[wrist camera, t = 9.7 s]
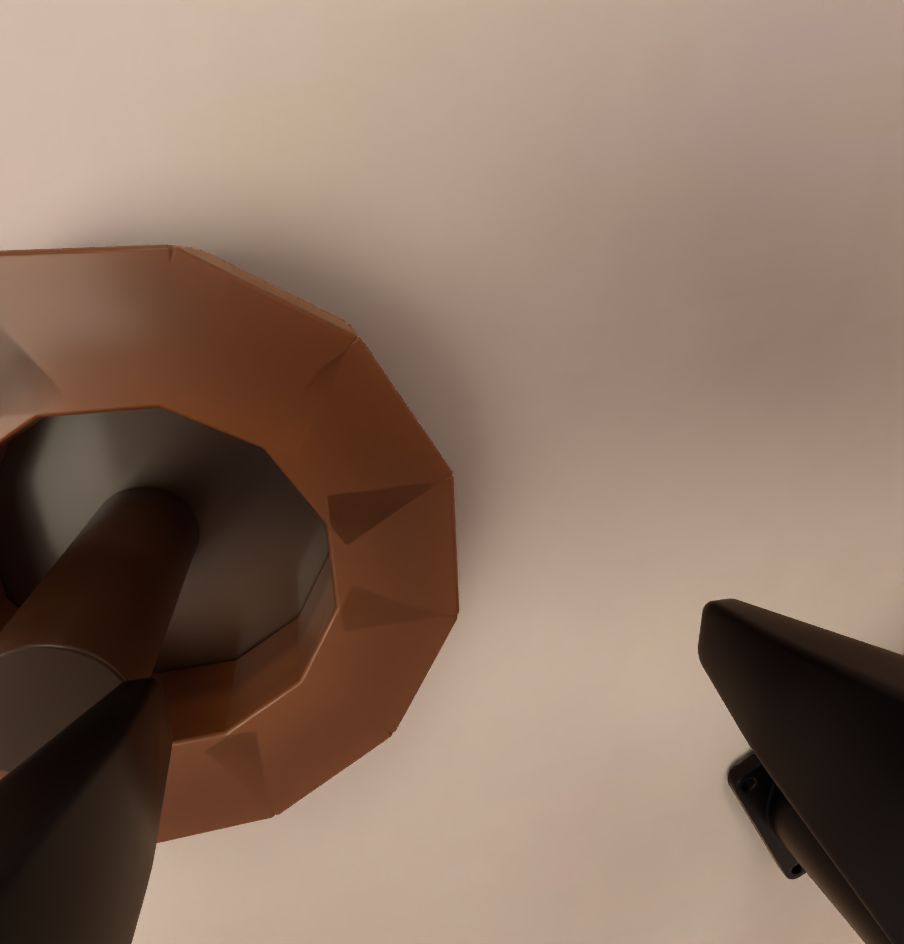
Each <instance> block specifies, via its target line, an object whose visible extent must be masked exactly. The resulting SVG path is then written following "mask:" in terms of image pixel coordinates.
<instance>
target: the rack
mask: <svg viewBox="0 0 904 944" xmlns="http://www.w3.org/2000/svg"><path fill="white" fill-rule="evenodd" d="M328 556H329V551H328V543H327V534H326V526H325V522H324V521H323V520H322V519H321V517H320V516H319V515H318V514H317V513H316V511H315V510H314V509H313V508H312V507H311V505H310V504H309V503H308V502H307V501H306V499H305V498H304V497H303V496H302V495H301V493H300V492H299V491H298V490H297V489H296V487H295V486H294V485H293V484H292V483H291V481H290V480H289V479H288V478H287V477H286V475H285V474H284V473H283V472H282V471H281V469H280V468H279V467H278V466H277V465H276V463H275V462H274V461H273V460H272V459H271V457H270V456H269V455H268V454H267V453H266V451H265V450H264V449H263V448H261V447H258V446H256V445H253V444H251V443H248V442H246V441H243V440H241V439H238V438H236V437H233V436H231V435H228V434H226V433H223V432H221V431H218V430H216V429H213V428H210V427H208V426H205V425H203V424H200V423H198V422H195V421H193V420H190V419H188V418H185V417H183V416H180V415H178V414H175V413H173V412H170V411H168V410H165V409H163V408H160V407H156V408H145V409H133V410H122V411H110V412H99V413H87V414H76V415H64V416H53V417H45V418H43V419H42V420H40V421H39V422H37V423H36V424H35V425H33V426H32V427H30V428H29V429H27V430H26V431H24V432H23V433H21V434H20V435H19V436H17V437H16V438H14V439H13V440H11V441H10V442H9V444H8V447H7V450H6V453H5V455H4V458H3V461H2V464H1V467H0V577H1V580H2V584H3V587H4V590H5V593H6V596H7V598H8V599H9V600H10V601H11V602H12V603H14V604H15V605H16V606H17V607H18V608H19V609H18V610H17V612H16V613H15V614H14V615H13V617H12V618H11V619H10V620H9V622H8V623H7V624H6V625H5V627H4V628H3V629H2V630H1V632H0V770H1V771H4V772H7V773H9V772H10V771H12V770H13V769H14V768H15V767H17V766H18V765H19V764H21V763H22V762H23V761H24V760H26V759H27V758H28V757H29V756H31V755H32V754H33V753H34V752H36V751H37V750H38V749H39V748H41V747H42V746H43V745H44V744H46V743H47V742H48V741H49V740H51V739H52V738H53V737H54V736H56V735H57V734H58V733H59V732H61V731H62V730H63V729H64V728H66V727H67V726H68V725H69V724H71V723H72V722H73V721H75V720H76V719H77V718H78V717H80V716H81V715H82V714H83V713H85V712H86V711H87V710H88V709H90V708H91V707H92V706H93V705H95V704H96V703H97V702H98V701H100V700H101V699H102V698H103V697H105V696H106V695H107V694H108V693H110V692H111V691H112V690H113V689H115V688H116V687H117V686H118V685H120V684H121V683H123V682H124V681H127V680H134V679H141V678H149V677H151V674H152V672H155V673H162V672H168V671H174V670H180V669H186V668H191V667H197V666H203V665H209V664H215V663H221V662H227V661H233V660H237V659H239V658H240V657H242V656H243V655H245V654H246V653H247V652H249V651H250V650H252V649H253V648H255V647H256V646H258V645H259V644H260V643H262V642H263V641H265V640H266V639H268V638H269V637H271V636H272V635H273V634H275V633H276V632H278V631H279V630H281V629H282V628H284V627H285V626H286V625H288V624H289V623H291V622H292V621H294V620H295V619H296V618H298V617H299V615H300V613H301V611H302V609H303V607H304V605H305V603H306V601H307V599H308V597H309V595H310V593H311V591H312V589H313V587H314V585H315V582H316V580H317V578H318V576H319V574H320V572H321V570H322V568H323V566H324V564H325V562H326V560H327V558H328Z"/></svg>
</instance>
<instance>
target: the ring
mask: <svg viewBox="0 0 904 944" xmlns="http://www.w3.org/2000/svg"><path fill="white" fill-rule="evenodd" d="M156 407H160V408H163V409H165V410H168V411H170V412H173V413H175V414H178V415H180V416H183V417H185V418H188V419H190V420H193V421H195V422H198V423H200V424H203V425H205V426H208V427H210V428H213V429H216V430H218V431H221V432H223V433H226V434H228V435H231V436H233V437H236V438H238V439H241V440H243V441H246V442H248V443H251V444H253V445H256V446H258V447H261V448H263V449H264V450H265V451H266V453H267V454H268V455H269V456H270V457H271V459H272V460H273V461H274V462H275V463H276V465H277V466H278V467H279V468H280V469H281V471H282V472H283V473H284V474H285V475H286V477H287V478H288V479H289V480H290V481H291V483H292V484H293V485H294V486H295V487H296V489H297V490H298V491H299V492H300V493H301V495H302V496H303V497H304V498H305V499H306V501H307V502H308V503H309V504H310V505H311V507H312V508H313V509H314V510H315V511H316V513H317V514H318V515H319V516H320V517H321V519H322V520H323V521H324V522H325V526H326V534H327V543H328V551H329V556H328V558H327V560H326V562H325V564H324V566H323V568H322V570H321V572H320V574H319V576H318V578H317V580H316V582H315V585H314V587H313V589H312V591H311V593H310V595H309V597H308V599H307V601H306V603H305V605H304V607H303V609H302V611H301V613H300V615H299V617H298V618H296V619H295V620H294V621H292V622H291V623H289V624H288V625H286V626H285V627H284V628H282V629H281V630H279V631H278V632H276V633H275V634H273V635H272V636H271V637H269V638H268V639H266V640H265V641H263V642H262V643H260V644H259V645H258V646H256V647H255V648H253V649H252V650H250V651H249V652H247V653H246V654H245V655H243V656H242V657H240V658H239V659H237V660H233V661H227V662H221V663H215V664H209V665H203V666H197V667H191V668H186V669H180V670H174V671H168V672H162V673H155V672H152V674H151V677H157V678H158V679H160V681H161V682H162V685H163V688H164V693H165V698H166V702H167V707H168V712H169V717H170V722H171V727H172V750H171V756H170V762H169V769H168V775H167V781H166V787H165V793H164V800H163V806H162V812H161V818H160V824H159V830H158V837H157V843H160V842H164V841H168V840H173V839H177V838H182V837H186V836H191V835H195V834H200V833H204V832H209V831H213V830H218V829H222V828H227V827H231V826H236V825H240V824H245V823H249V822H254V821H258V820H263V819H267V818H272V817H273V816H275V814H276V815H278V814H280V813H282V812H283V811H285V810H286V809H287V808H289V807H290V806H292V805H293V804H295V803H296V802H297V801H299V800H300V799H302V798H303V797H305V796H306V795H308V794H309V793H310V792H312V791H313V790H315V789H316V788H318V787H319V786H320V785H322V784H323V783H325V782H326V781H328V780H329V779H330V778H332V777H333V776H335V775H336V774H338V773H339V772H340V771H342V770H343V769H345V768H346V767H348V766H349V765H351V764H352V763H353V762H355V761H356V760H358V759H359V758H361V757H362V756H363V755H365V754H366V753H368V752H369V751H371V750H372V749H373V748H375V747H376V746H378V745H379V744H381V743H382V742H384V741H385V740H386V739H388V738H389V737H391V735H392V733H393V732H395V731H396V729H397V727H398V726H399V724H400V722H401V720H402V718H403V717H404V715H405V713H406V711H407V709H408V707H409V706H410V704H411V702H412V700H413V698H414V696H415V695H416V693H417V691H418V689H419V687H420V686H421V684H422V682H423V680H424V678H425V676H426V675H427V673H428V671H429V669H430V667H431V665H432V664H433V662H434V660H435V658H436V656H437V654H438V653H439V651H440V649H441V647H442V645H443V644H444V642H445V640H446V638H447V636H448V634H449V633H450V631H451V629H452V627H453V625H454V623H455V622H456V620H457V614H458V613H459V593H458V569H457V545H456V521H455V497H454V478H453V476H452V474H453V473H452V470H451V469H450V467H449V466H448V465H447V463H446V462H445V460H444V459H443V457H442V456H441V454H440V453H439V451H438V450H437V449H436V447H435V446H434V444H433V443H432V441H431V440H430V438H429V437H428V435H427V434H426V432H425V431H424V430H423V428H422V427H421V425H420V424H419V422H418V421H417V419H416V418H415V416H414V415H413V414H412V412H411V411H410V409H409V408H408V406H407V405H406V403H405V402H404V400H403V399H402V398H401V396H400V395H399V393H398V392H397V390H396V389H395V387H394V386H393V384H392V383H391V382H390V380H389V379H388V377H387V376H386V374H385V373H384V371H383V370H382V368H381V367H380V366H379V364H378V363H377V361H376V360H375V358H374V357H373V355H372V354H371V352H370V351H369V350H368V348H367V347H366V345H365V344H364V342H363V341H362V339H361V338H360V337H359V336H358V334H357V333H356V332H355V331H354V329H353V328H352V327H351V326H350V325H349V324H347V323H346V322H345V321H344V320H342V319H340V318H338V317H336V316H334V315H332V314H330V313H328V312H326V311H324V310H322V309H320V308H318V307H316V306H314V305H312V304H310V303H308V302H306V301H304V300H302V299H299V298H297V297H295V296H293V295H291V294H289V293H287V292H285V291H283V290H281V289H279V288H277V287H275V286H273V285H271V284H269V283H267V282H265V281H263V280H261V279H259V278H257V277H255V276H253V275H251V274H249V273H247V272H245V271H243V270H241V269H239V268H237V267H235V266H233V265H231V264H229V263H227V262H225V261H223V260H221V259H219V258H217V257H215V256H213V255H211V254H209V253H207V252H205V251H203V250H198V249H194V248H191V247H182V246H174V245H145V246H117V247H90V248H62V249H34V250H6V251H0V467H1V464H2V461H3V458H4V455H5V453H6V450H7V447H8V444H9V442H10V441H11V440H13V439H14V438H16V437H17V436H19V435H20V434H21V433H23V432H24V431H26V430H27V429H29V428H30V427H32V426H33V425H35V424H36V423H37V422H39V421H40V420H42V419H43V418H45V417H53V416H64V415H76V414H87V413H99V412H110V411H122V410H133V409H145V408H156ZM18 609H19V608H18V607H17V606H16V605H15V604H14V603H12V602H11V601H10V600H9V599H8V598H7V596H6V593H5V590H4V587H3V584H2V580H1V577H0V632H1V630H2V629H3V628H4V627H5V625H6V624H7V623H8V622H9V620H10V619H11V618H12V617H13V615H14V614H15V613H16V612H17V610H18ZM7 774H8V773H7V772H4V771H1V770H0V779H2V778H3V777H4V776H5V775H7Z"/></svg>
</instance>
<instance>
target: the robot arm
mask: <svg viewBox="0 0 904 944" xmlns="http://www.w3.org/2000/svg"><path fill="white" fill-rule="evenodd" d="M698 655H699V659H700V662H701V664H702V666H703V668H704V670H705V671H706V673H707V675H708V676H709V678H710V680H711V681H712V683H713V685H714V686H715V688H716V690H717V692H718V693H719V695H720V697H721V698H722V700H723V702H724V703H725V705H726V707H727V708H728V710H729V712H730V714H731V715H732V717H733V719H734V720H735V722H736V724H737V725H738V727H739V729H740V730H741V732H742V734H743V736H744V737H745V739H746V740H747V742H748V744H749V745H750V747H751V748H752V750H753V752H754V753H755V754H754V755H753V756H751V757H750V758H748V759H747V760H745V761H744V762H743V763H741V764H740V765H738V766H737V767H735V768H734V769H733V770H732V771H731V773H730V774H729V777H728V783H729V785H730V787H731V789H732V790H733V792H734V794H735V795H736V797H737V799H738V800H739V802H740V804H741V805H742V807H743V809H744V810H745V812H746V814H747V815H748V817H749V819H750V820H751V822H752V824H753V825H754V827H755V829H756V830H757V832H758V834H759V835H760V837H761V839H762V840H763V842H764V844H765V845H766V847H767V849H768V850H769V852H770V854H771V855H772V857H773V859H774V860H775V862H776V864H777V865H778V867H779V868H780V869H781V871H782V872H783V873H784V874H785V876H786V877H787V878H788V879H796V878H798V877H800V876H802V875H803V874H805V873H806V872H807V874H808V875H809V876H810V877H811V878H812V880H813V881H814V882H815V883H816V885H817V886H818V887H819V888H820V889H821V891H822V892H823V893H824V894H825V895H826V897H827V898H828V899H829V900H830V901H831V903H832V904H833V905H834V906H835V907H836V909H837V910H838V911H839V912H840V913H841V915H842V916H843V917H844V918H845V919H846V921H847V922H848V923H849V924H850V925H851V927H852V928H853V929H854V930H855V931H856V933H857V934H858V935H859V936H860V938H861V939H862V940H863V941H864V942H865V944H904V655H901V654H898V653H895V652H892V651H889V650H886V649H883V648H880V647H877V646H874V645H871V644H868V643H865V642H862V641H859V640H856V639H853V638H850V637H847V636H844V635H841V634H838V633H835V632H832V631H829V630H826V629H823V628H820V627H817V626H814V625H811V624H808V623H805V622H802V621H799V620H796V619H793V618H790V617H787V616H784V615H781V614H778V613H775V612H772V611H769V610H766V609H763V608H760V607H757V606H754V605H751V604H748V603H745V602H742V601H739V600H736V599H723V600H716V601H710V602H708V603H707V604H706V605H705V606H704V608H703V612H702V620H701V627H700V635H699V643H698ZM171 750H172V727H171V722H170V717H169V712H168V707H167V702H166V698H165V693H164V688H163V685H162V682H161V681H160V679H158V678H157V677H149V678H141V679H134V680H127V681H124V682H123V683H121V684H120V685H118V686H117V687H116V688H115V689H113V690H112V691H111V692H110V693H108V694H107V695H106V696H105V697H103V698H102V699H101V700H100V701H98V702H97V703H96V704H95V705H93V706H92V707H91V708H90V709H88V710H87V711H86V712H85V713H83V714H82V715H81V716H80V717H78V718H77V719H76V720H75V721H73V722H72V723H71V724H69V725H68V726H67V727H66V728H64V729H63V730H62V731H61V732H59V733H58V734H57V735H56V736H54V737H53V738H52V739H51V740H49V741H48V742H47V743H46V744H44V745H43V746H42V747H41V748H39V749H38V750H37V751H36V752H34V753H33V754H32V755H31V756H29V757H28V758H27V759H26V760H24V761H23V762H22V763H21V764H19V765H18V766H17V767H15V768H14V769H13V770H12V771H10V772H9V773H8V774H7V775H5V776H4V777H3V778H2V779H0V944H131V943H132V940H133V936H134V932H135V929H136V925H137V922H138V918H139V914H140V911H141V907H142V904H143V900H144V896H145V893H146V889H147V885H148V881H149V877H150V873H151V869H152V865H153V860H154V854H155V849H156V843H157V837H158V830H159V824H160V818H161V812H162V806H163V800H164V793H165V787H166V781H167V775H168V769H169V762H170V756H171Z"/></svg>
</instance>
